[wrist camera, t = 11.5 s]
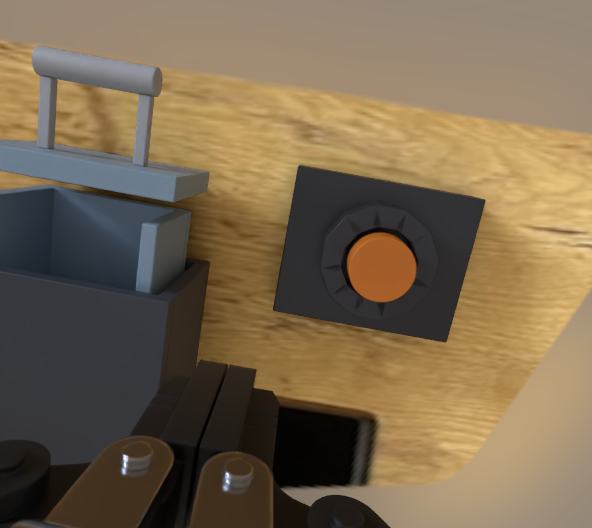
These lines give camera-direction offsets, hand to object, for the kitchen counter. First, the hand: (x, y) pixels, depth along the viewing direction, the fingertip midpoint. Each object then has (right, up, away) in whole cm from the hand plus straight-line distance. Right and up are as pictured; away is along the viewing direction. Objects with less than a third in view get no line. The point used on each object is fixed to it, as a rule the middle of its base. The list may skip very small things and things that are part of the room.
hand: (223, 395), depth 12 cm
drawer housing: (-11, -2, +20) cm, 22 cm away
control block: (+7, +4, +17) cm, 19 cm away
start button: (+7, +4, +14) cm, 16 cm away
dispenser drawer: (-9, +6, +17) cm, 20 cm away
